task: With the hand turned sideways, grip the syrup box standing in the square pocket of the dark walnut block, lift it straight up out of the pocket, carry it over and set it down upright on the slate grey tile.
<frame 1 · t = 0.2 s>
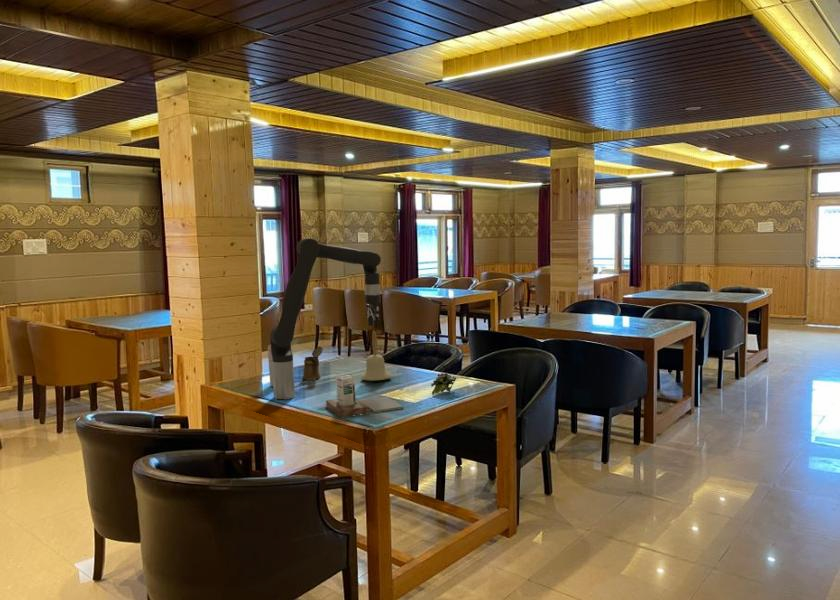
hand: (373, 326, 309), 29 cm above the table, tool pointing down, fingers open, 8 cm apart
green leafy plant: (444, 394, 291), on the table
handbell: (376, 380, 324), on the table
slate tile: (380, 405, 274), on the table
pocket block: (346, 410, 268), on the table
syrup box: (346, 410, 268), resting in pocket block
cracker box: (279, 384, 323), on the table
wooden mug: (314, 379, 331), on the table
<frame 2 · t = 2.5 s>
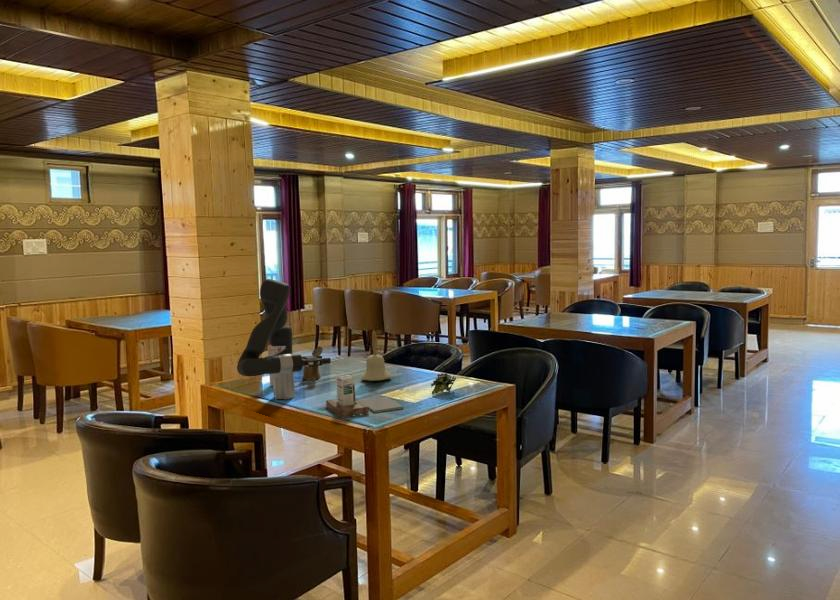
hand: (325, 359, 264), 22 cm above the table, tool horizontal, fingers open, 8 cm apart
nothing on the table moved.
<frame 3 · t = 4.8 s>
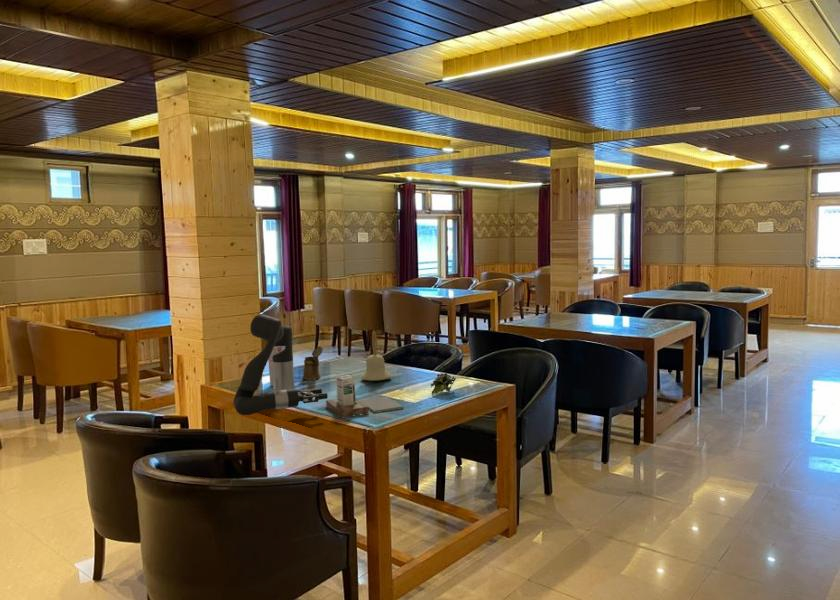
hand: (324, 393, 263), 8 cm above the table, tool horizontal, fingers open, 8 cm apart
nothing on the table moved.
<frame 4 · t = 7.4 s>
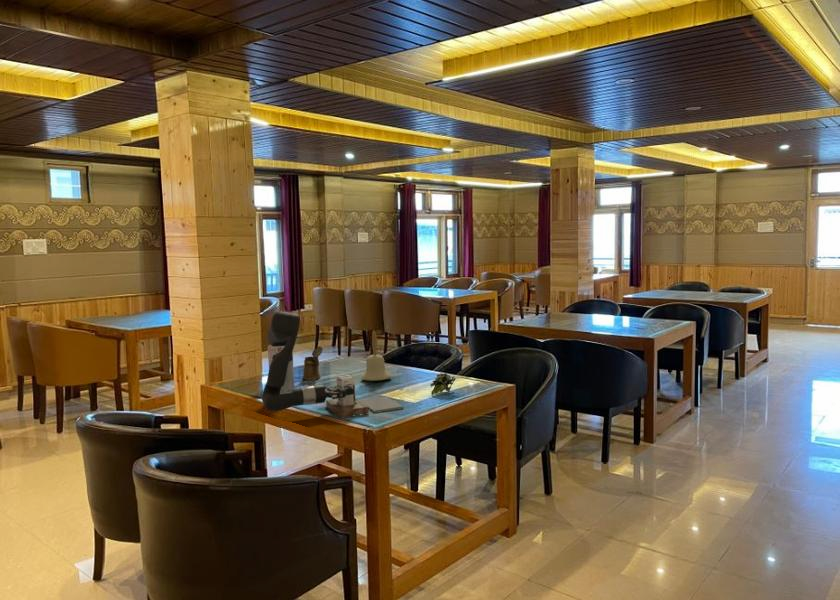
hand: (351, 389, 268), 9 cm above the table, tool horizontal, fingers closed on syrup box, 6 cm apart
syrup box: (346, 410, 268), resting in pocket block, touching gripper
everything else where it was.
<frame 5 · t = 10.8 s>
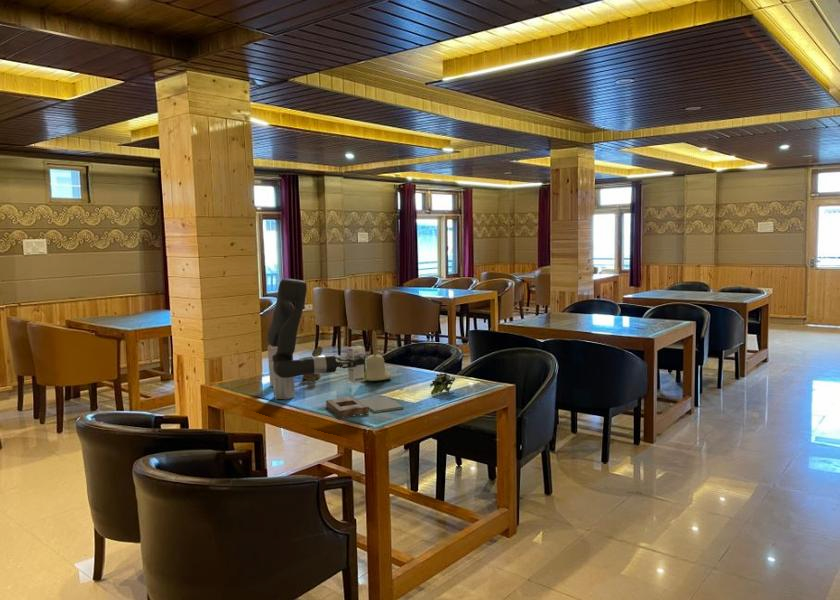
hand: (361, 360, 268), 21 cm above the table, tool horizontal, fingers closed on syrup box, 6 cm apart
syrup box: (357, 381, 268), point 12 cm above the table, touching gripper
everything else where it was.
when the fingers open (11 cm above the table, at t = 14.5 s): syrup box drops 1 cm, resting on slate tile.
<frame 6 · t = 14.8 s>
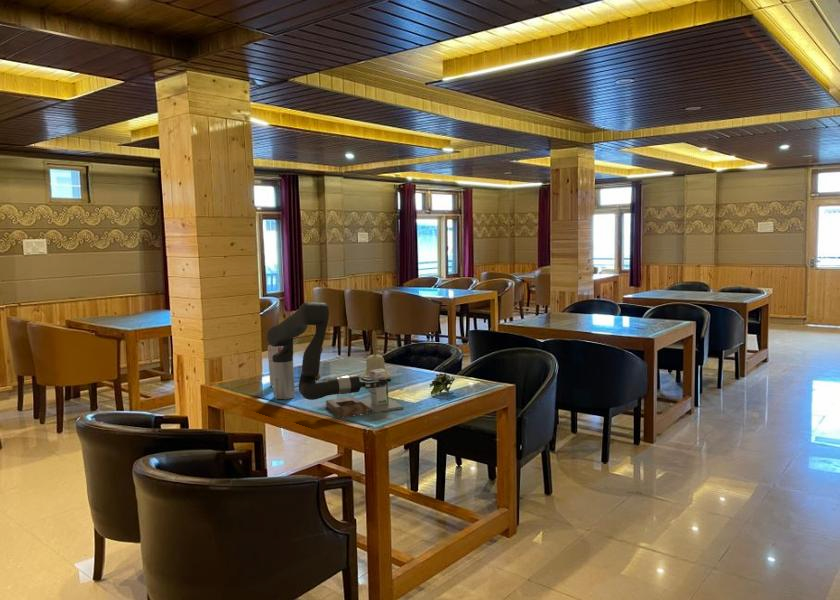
hand: (383, 379, 274), 11 cm above the table, tool horizontal, fingers open, 8 cm apart
syrup box: (379, 403, 274), point 1 cm above the table, touching slate tile
everything else where it was.
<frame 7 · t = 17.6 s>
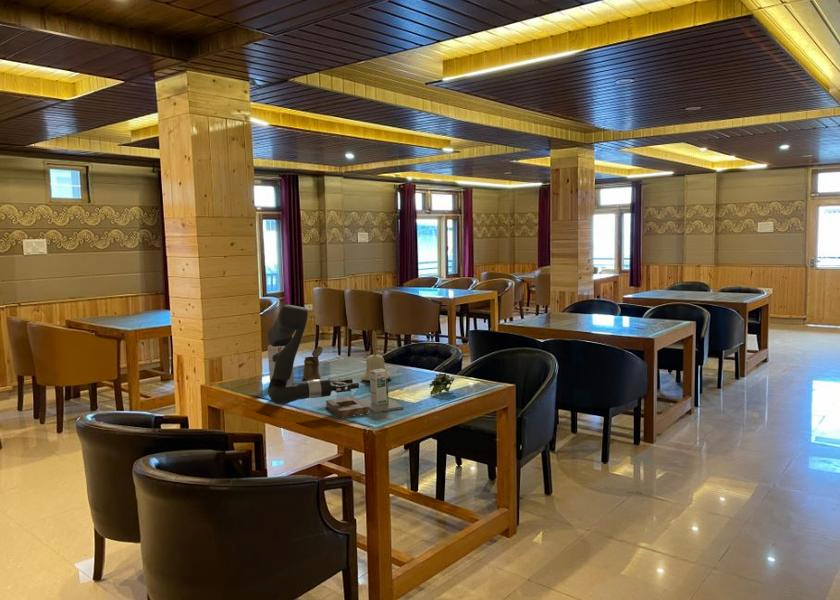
hand: (355, 383, 268), 11 cm above the table, tool horizontal, fingers open, 8 cm apart
nothing on the table moved.
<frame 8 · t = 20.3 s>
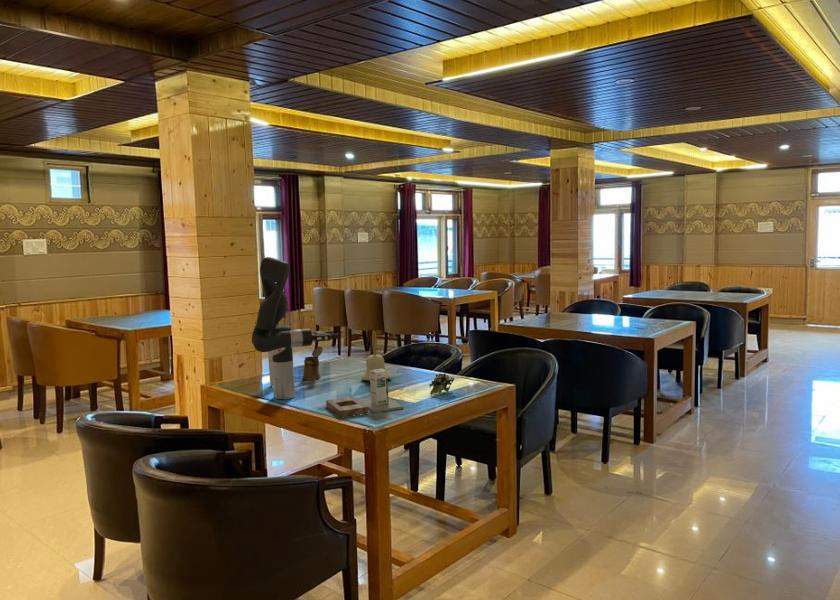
hand: (336, 334, 281), 30 cm above the table, tool horizontal, fingers open, 8 cm apart
at the end: syrup box inside the target area on the slate tile (0.1 cm from its centre), point 0.8 cm above the slate tile's base; syrup box tilted 0°; the gripper is holding nothing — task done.
